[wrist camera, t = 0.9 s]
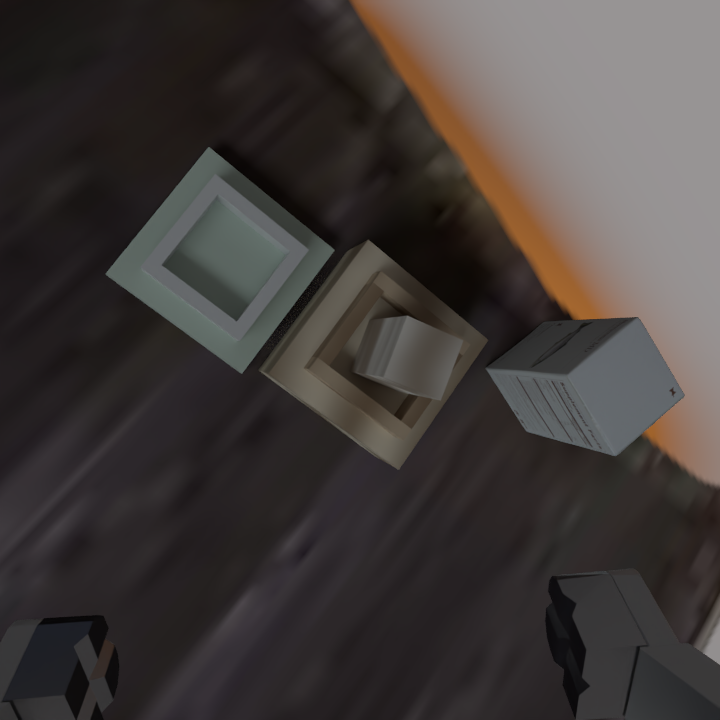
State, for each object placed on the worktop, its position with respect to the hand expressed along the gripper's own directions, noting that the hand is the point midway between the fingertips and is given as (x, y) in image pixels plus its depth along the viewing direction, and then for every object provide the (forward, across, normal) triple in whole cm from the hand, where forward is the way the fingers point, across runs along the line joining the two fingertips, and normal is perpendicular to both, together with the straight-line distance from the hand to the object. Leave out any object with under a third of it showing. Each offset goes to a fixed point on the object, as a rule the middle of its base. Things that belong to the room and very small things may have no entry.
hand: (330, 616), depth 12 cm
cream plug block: (+33, -3, +12) cm, 36 cm away
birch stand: (+39, -2, +15) cm, 41 cm away
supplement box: (+41, -17, +20) cm, 49 cm away
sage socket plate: (+40, +8, +7) cm, 41 cm away
